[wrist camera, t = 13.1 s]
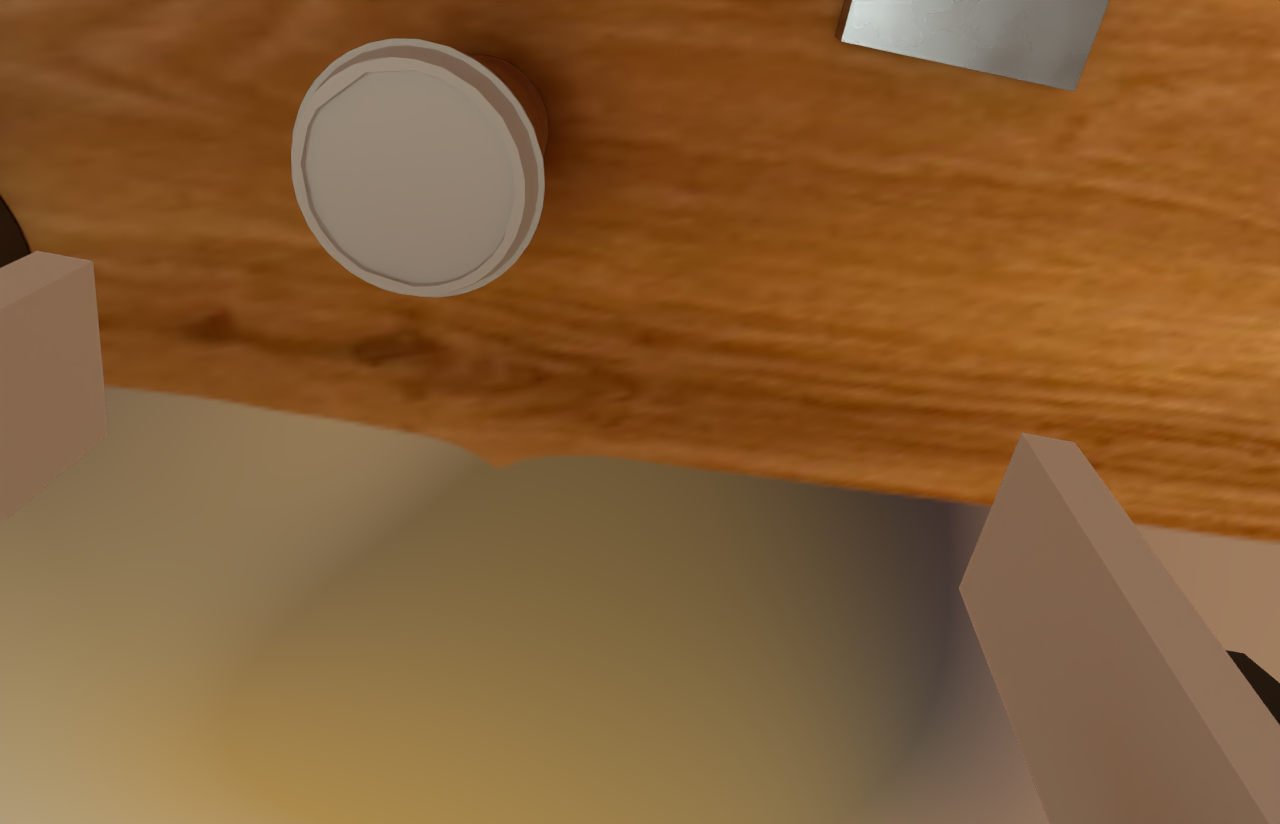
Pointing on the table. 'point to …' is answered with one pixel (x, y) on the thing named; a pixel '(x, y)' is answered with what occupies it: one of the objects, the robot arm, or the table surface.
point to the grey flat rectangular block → (982, 34)
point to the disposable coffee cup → (421, 165)
